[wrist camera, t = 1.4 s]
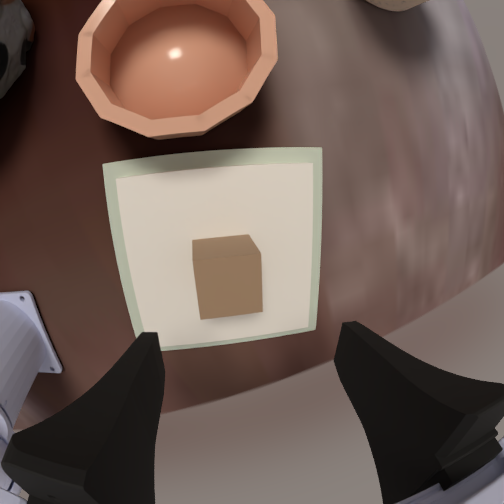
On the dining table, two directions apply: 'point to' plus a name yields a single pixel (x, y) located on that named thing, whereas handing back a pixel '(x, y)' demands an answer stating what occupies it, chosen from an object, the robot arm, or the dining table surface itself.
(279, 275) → the cover plate
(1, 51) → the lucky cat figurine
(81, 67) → the bowl
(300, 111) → the dining table surface
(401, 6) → the teacup with lid
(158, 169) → the mat
